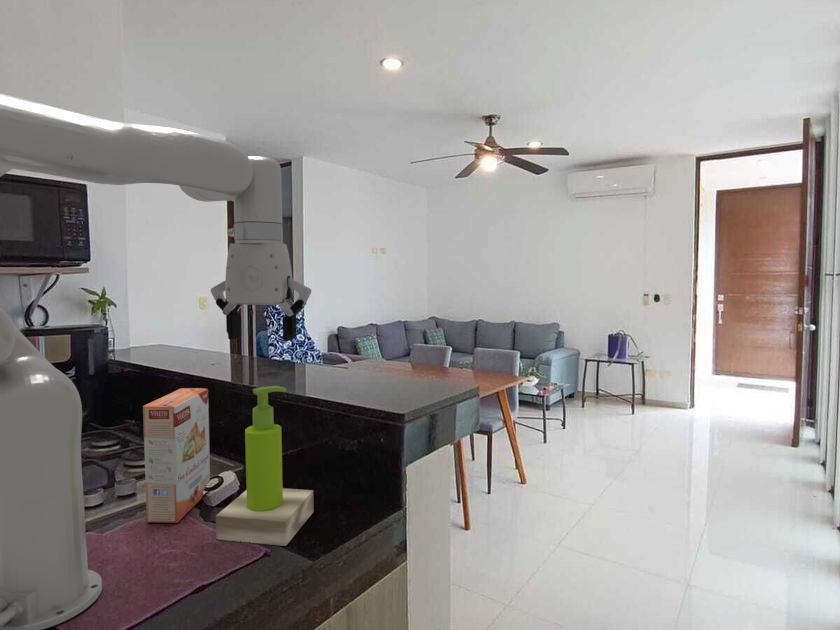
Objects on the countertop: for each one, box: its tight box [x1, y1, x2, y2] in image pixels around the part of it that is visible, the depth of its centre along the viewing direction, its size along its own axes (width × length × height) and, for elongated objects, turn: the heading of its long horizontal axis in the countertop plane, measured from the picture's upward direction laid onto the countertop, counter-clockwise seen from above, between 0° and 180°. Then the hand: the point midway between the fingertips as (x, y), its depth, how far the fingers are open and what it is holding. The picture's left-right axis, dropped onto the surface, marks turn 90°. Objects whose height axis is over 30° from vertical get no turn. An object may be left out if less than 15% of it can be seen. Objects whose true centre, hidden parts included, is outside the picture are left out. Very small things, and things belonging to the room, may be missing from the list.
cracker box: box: [142, 387, 211, 524], centre depth 97 cm, size 14×6×21 cm, turn 179°
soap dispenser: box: [244, 385, 288, 511], centre depth 90 cm, size 6×7×20 cm
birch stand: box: [215, 487, 315, 547], centre depth 91 cm, size 12×12×4 cm
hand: (261, 338), depth 88 cm, fingers open, 9 cm apart
